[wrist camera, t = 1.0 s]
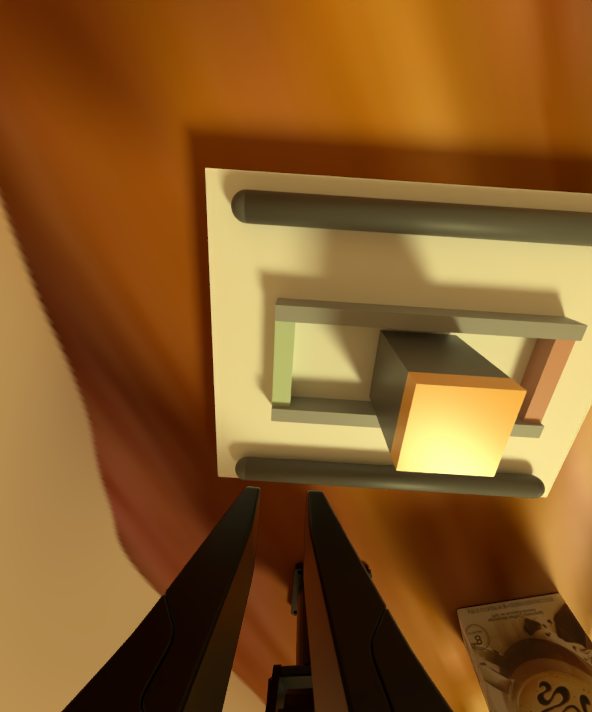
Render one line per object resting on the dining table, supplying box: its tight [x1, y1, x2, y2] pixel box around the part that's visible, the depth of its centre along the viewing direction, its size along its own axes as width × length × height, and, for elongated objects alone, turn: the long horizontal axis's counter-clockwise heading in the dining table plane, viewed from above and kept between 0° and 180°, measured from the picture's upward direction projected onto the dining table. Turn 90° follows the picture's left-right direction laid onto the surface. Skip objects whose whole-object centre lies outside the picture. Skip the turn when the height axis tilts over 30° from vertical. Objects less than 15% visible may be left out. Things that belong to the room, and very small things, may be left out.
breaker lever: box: [369, 330, 527, 477], centre depth 15 cm, size 4×4×6 cm
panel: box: [205, 168, 592, 498], centre depth 19 cm, size 18×22×4 cm
